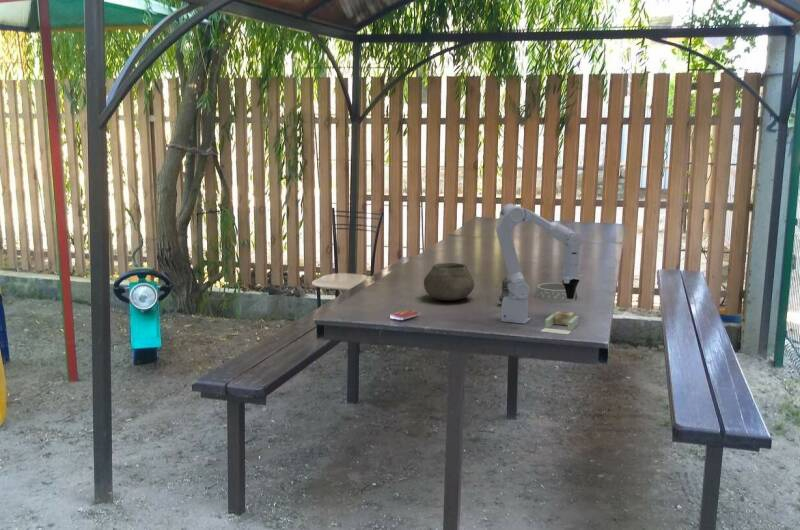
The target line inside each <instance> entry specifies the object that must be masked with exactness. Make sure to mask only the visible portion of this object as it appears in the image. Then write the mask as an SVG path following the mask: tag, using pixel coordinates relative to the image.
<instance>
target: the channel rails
mask: <svg viewBox="0 0 800 530" xmlns="http://www.w3.org/2000/svg"><path fill="white" fill-rule="evenodd" d="M555 313H556V312H554V313H552V314H550V315H549V316H548V317H547V318H546V319H545V320H544V328H549V329H551V327H552V326H553V325H555V324H554V322H555ZM579 324H580V316H579V315H574V317H573V318H572V319H571V320H570V321H569V322H568V325H567V329H566V330H567V331H571V332H572V331H573V330H575V328H576V327H577V326H578V325H579Z"/></svg>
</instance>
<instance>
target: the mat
mask: <svg viewBox="0 0 800 530" xmlns="http://www.w3.org/2000/svg"><path fill="white" fill-rule="evenodd" d="M540 332H542V333H543V332H544V333H550V334H551V333H552V334H558V335H560V334H561V335H569V334H570V333H571V332H572V331H568V330H567V329H557V328H545V327H544V328H542V330H540Z"/></svg>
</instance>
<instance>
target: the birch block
mask: <svg viewBox="0 0 800 530" xmlns="http://www.w3.org/2000/svg"><path fill="white" fill-rule="evenodd" d="M554 313H555V322H554V324H553V325H561V326H568V322H569V321H570V320H571V319H572V318H573V317H574V316H575V315H574V314H575V313H574V312H571V311H564V310H557V311H556V312H554Z"/></svg>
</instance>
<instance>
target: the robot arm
mask: <svg viewBox="0 0 800 530" xmlns="http://www.w3.org/2000/svg"><path fill="white" fill-rule="evenodd" d="M521 222H530V223H533V224H535V225H536V226H539V227H540V228H542V229H545V231H546V234H547V235H548V236H550V237H551V238H553V239H554V240H557V241H559V242H560V243H562V244H564V250H563V273H562V278H563V279H562V282H561V283H563V285H564V287H565V290H566V296H567V299H573V298H574V294H575V290H576V291H577V286H578V284H579V282H580V278H582V277H583V275H582V274H580V253H581V251H580V249H581V248H580V247H581V246H582V244H583V239H582V236H581V234H580V233H578V232H576V231H573V229H572V228H571V227H567V226H565V225H563V224H562V222H561V221H557V220H556V221H555V220H554V221H548V220H547V219H545V218H544V217H542V216H540V215H539V214H537V213H535V212H534V211H532V210H530V209H528V208H524V207H522V206H519V205H516V204H514V203H506V204H505V205H504V206H503V208H501V210H500V211H499V217H498V221H497V226H496V229H495V230H496V231H495V232H496V234H497V238H498V242H499V246H500V249H501V253H502V257H503V260H504V263H505V268H506V271H507V276H506V277H507V279H508V286H507V287H508V290H509V292H510V294H509V297H504V298H503V300H502V307H501V319H500V321H501V322H507V323H515V324H526V323H528V322H529V321H530V320H531V319H532V318H531V317H528V315H529V314H528V313H529V311H528V310H529V295H530V293H531V288H530V285H529V284H528V283H527V281H526V279H525V276H524V275H523V273H522V270H521V267H520V262H519V259H518V255H517V251H516V247H515V244H514V239H513V236H512V231H514V229H515V227H516V226H517V225H519V224H520V223H521ZM578 278H579V279H578Z"/></svg>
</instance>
